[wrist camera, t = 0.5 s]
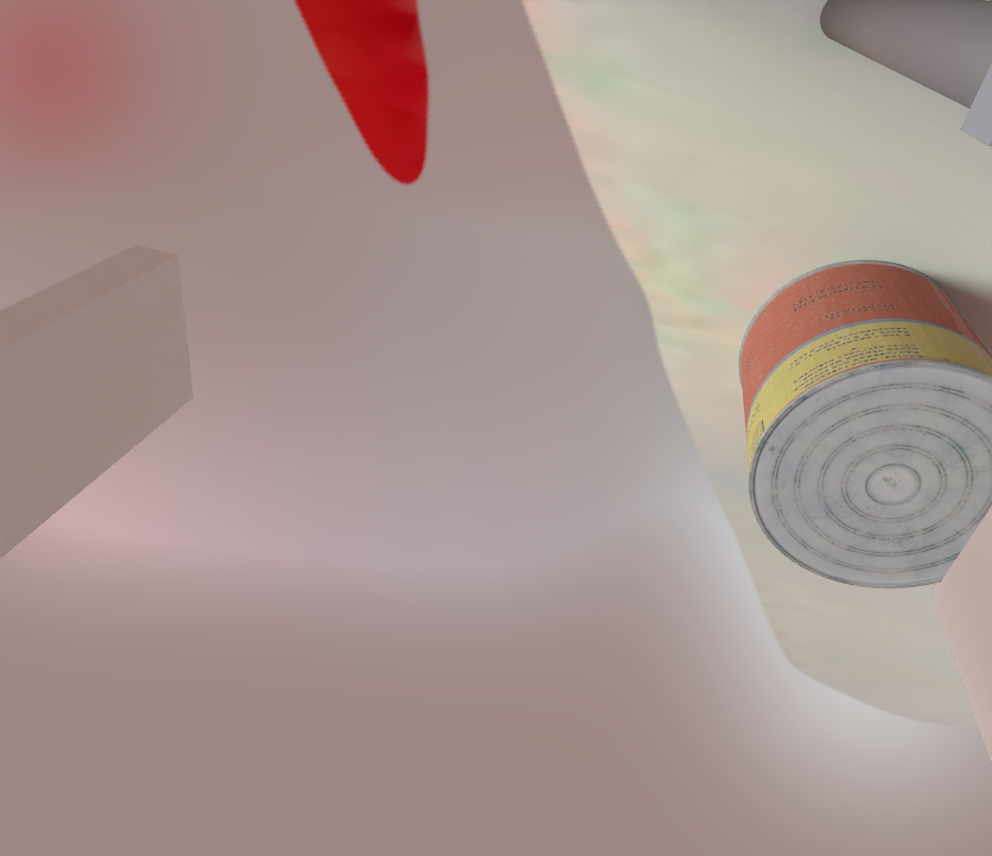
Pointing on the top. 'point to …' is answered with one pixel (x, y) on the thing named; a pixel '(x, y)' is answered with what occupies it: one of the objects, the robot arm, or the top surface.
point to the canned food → (867, 424)
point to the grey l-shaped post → (925, 47)
